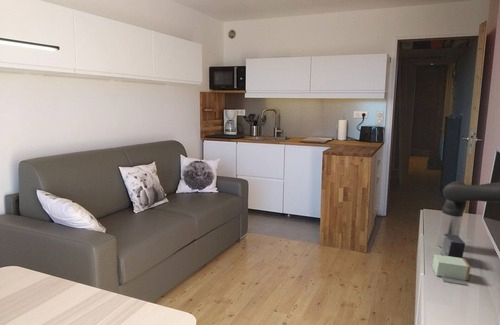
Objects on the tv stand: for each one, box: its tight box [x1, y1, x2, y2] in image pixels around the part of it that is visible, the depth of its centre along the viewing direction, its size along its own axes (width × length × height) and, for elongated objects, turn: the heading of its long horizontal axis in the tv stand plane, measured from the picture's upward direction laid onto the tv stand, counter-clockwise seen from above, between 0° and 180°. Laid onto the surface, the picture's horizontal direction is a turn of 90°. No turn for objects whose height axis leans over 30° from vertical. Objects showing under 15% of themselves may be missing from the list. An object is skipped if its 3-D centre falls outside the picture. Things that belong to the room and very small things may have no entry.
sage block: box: [431, 253, 471, 281], centre depth 161 cm, size 8×6×12 cm
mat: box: [440, 276, 469, 286], centre depth 161 cm, size 14×9×1 cm, turn 167°
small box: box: [440, 233, 466, 258], centre depth 176 cm, size 11×6×10 cm, turn 168°
